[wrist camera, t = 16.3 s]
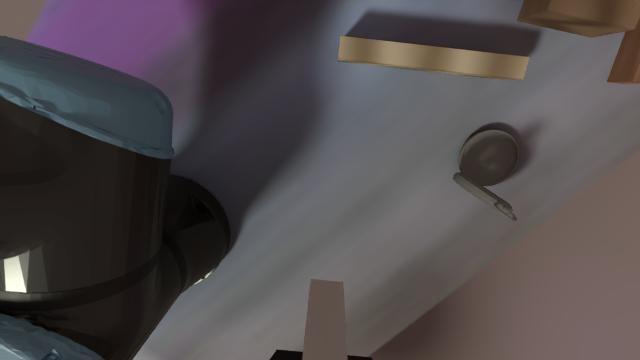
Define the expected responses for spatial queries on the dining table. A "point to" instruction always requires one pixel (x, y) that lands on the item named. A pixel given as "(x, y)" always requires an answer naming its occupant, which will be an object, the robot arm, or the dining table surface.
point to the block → (582, 15)
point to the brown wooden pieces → (473, 59)
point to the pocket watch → (488, 166)
